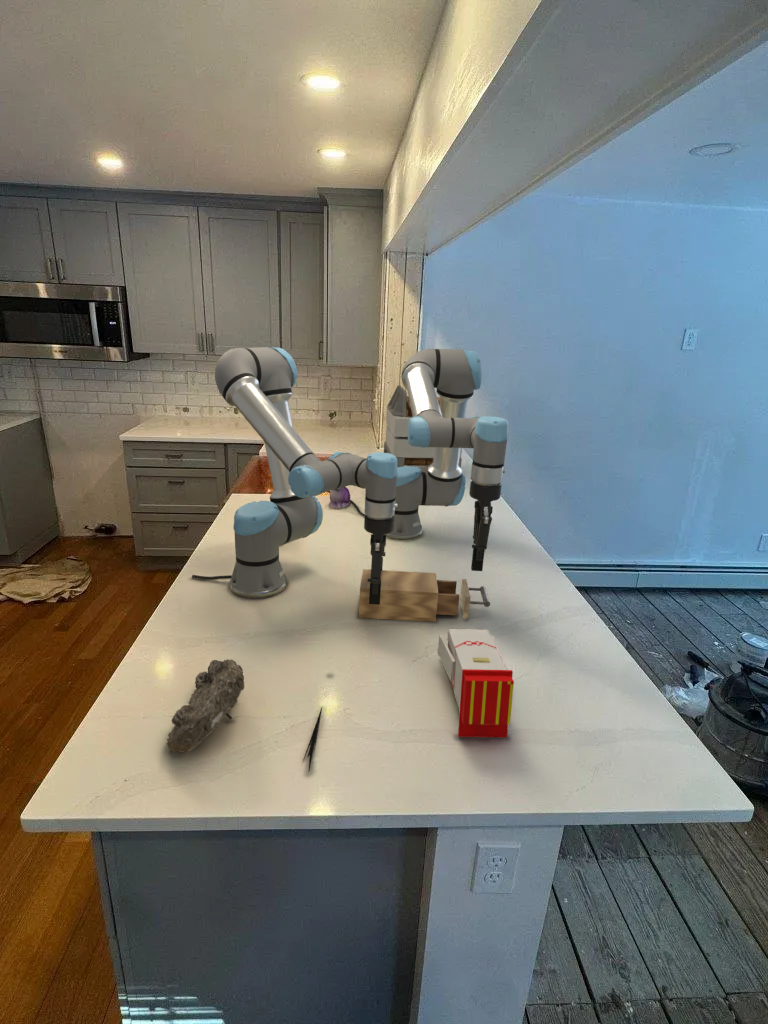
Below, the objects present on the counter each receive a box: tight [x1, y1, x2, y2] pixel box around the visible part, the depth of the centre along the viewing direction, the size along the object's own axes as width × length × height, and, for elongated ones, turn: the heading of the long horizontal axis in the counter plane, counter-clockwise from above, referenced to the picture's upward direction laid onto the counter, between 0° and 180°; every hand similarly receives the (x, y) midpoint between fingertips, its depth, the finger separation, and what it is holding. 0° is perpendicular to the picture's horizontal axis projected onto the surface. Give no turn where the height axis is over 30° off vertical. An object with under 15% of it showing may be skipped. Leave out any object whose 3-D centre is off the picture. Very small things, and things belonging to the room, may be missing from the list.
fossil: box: [166, 658, 245, 754], centre depth 106 cm, size 22×10×15 cm
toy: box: [437, 628, 515, 738], centre depth 117 cm, size 12×13×30 cm
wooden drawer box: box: [358, 568, 438, 623], centre depth 149 cm, size 20×11×8 cm, turn 88°
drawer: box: [436, 578, 491, 620], centre depth 148 cm, size 24×10×6 cm, turn 88°
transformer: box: [383, 384, 463, 469], centre depth 268 cm, size 34×33×41 cm
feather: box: [301, 673, 332, 771], centre depth 108 cm, size 2×28×2 cm
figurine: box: [329, 486, 351, 509], centre depth 223 cm, size 9×10×15 cm
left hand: (375, 591), depth 149 cm, fingers open, 13 cm apart
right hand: (476, 569), depth 145 cm, fingers closed
